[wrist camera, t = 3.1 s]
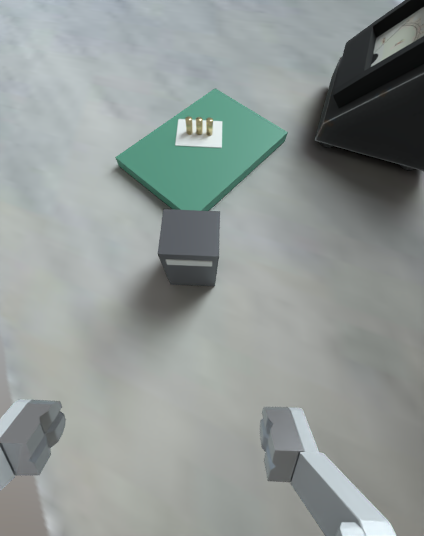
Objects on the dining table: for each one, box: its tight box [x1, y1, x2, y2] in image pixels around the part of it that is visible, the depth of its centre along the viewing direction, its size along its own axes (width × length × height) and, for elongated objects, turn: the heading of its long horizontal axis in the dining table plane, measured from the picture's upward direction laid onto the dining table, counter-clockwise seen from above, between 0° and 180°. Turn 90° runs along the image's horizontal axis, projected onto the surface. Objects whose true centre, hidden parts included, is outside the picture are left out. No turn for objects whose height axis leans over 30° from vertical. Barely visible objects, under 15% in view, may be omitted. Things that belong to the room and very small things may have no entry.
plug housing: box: [158, 209, 220, 286], centre depth 24 cm, size 5×4×8 cm
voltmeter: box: [315, 0, 424, 171], centre depth 28 cm, size 16×16×20 cm
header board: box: [115, 89, 288, 211], centre depth 34 cm, size 20×14×2 cm
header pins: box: [185, 117, 213, 136], centre depth 33 cm, size 1×4×2 cm, turn 88°
